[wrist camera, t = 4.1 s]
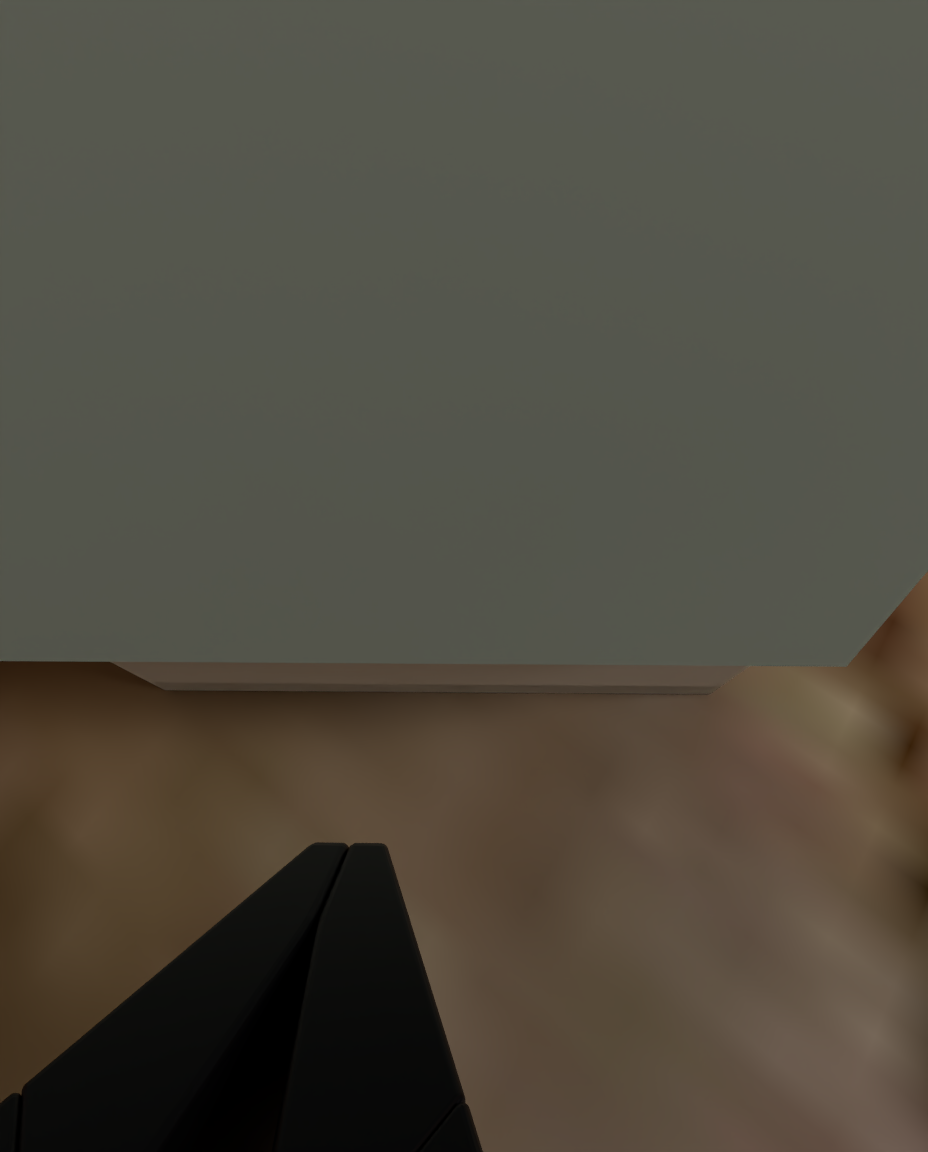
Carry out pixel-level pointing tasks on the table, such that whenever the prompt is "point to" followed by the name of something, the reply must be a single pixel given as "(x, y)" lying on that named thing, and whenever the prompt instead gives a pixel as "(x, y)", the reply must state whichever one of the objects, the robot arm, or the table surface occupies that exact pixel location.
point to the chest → (434, 677)
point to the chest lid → (461, 330)
